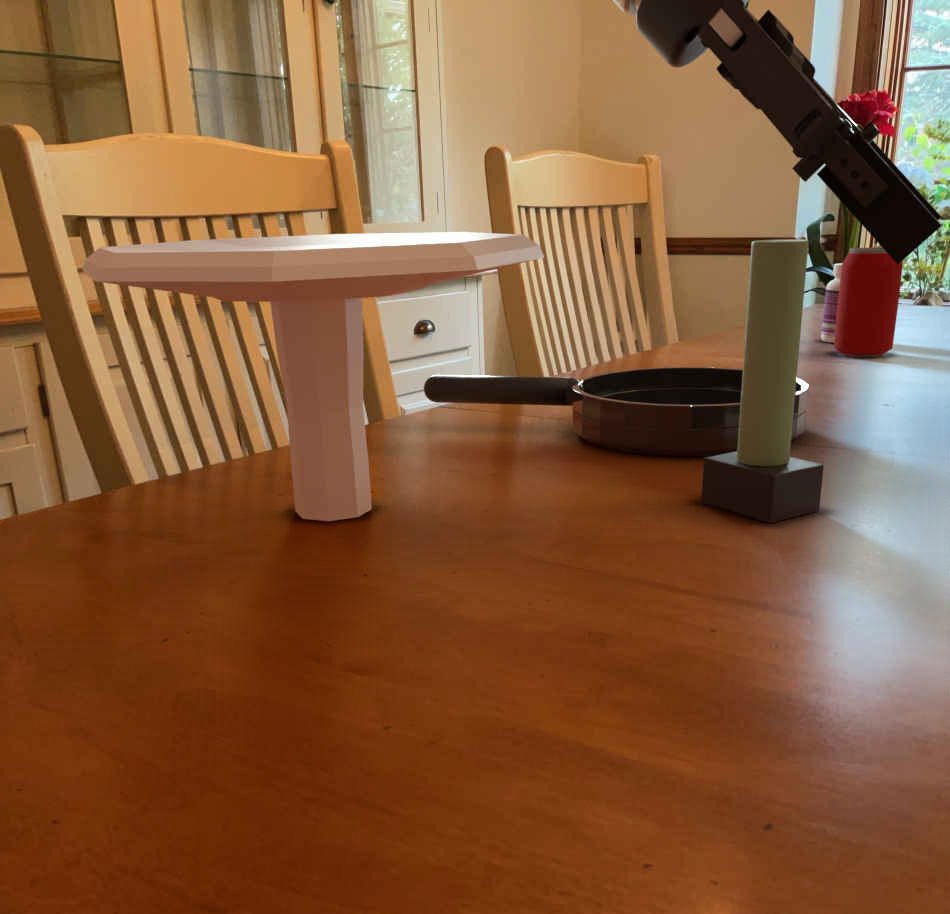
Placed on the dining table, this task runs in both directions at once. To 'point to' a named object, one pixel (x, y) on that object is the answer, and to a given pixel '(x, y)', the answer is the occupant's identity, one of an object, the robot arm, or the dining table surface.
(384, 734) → the dining table surface
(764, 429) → the green peg on base
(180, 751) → the dining table surface
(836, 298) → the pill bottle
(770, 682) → the dining table surface
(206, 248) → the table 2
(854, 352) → the beverage can
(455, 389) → the pan handle
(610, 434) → the frying pan
